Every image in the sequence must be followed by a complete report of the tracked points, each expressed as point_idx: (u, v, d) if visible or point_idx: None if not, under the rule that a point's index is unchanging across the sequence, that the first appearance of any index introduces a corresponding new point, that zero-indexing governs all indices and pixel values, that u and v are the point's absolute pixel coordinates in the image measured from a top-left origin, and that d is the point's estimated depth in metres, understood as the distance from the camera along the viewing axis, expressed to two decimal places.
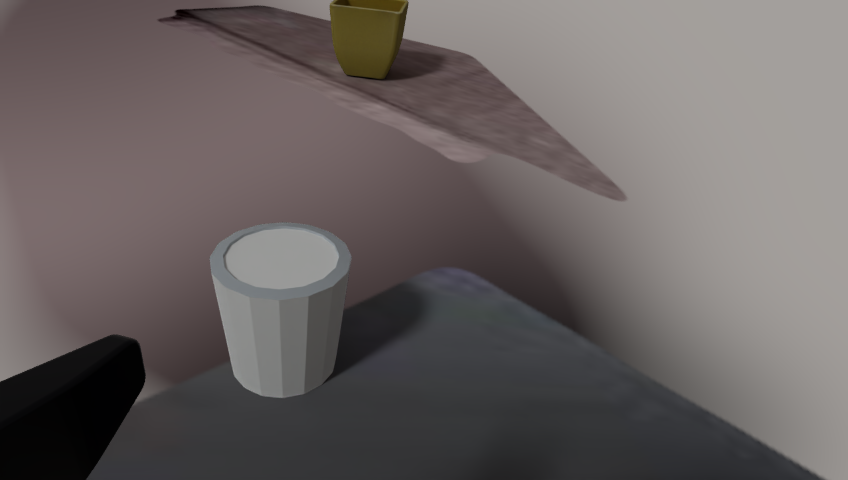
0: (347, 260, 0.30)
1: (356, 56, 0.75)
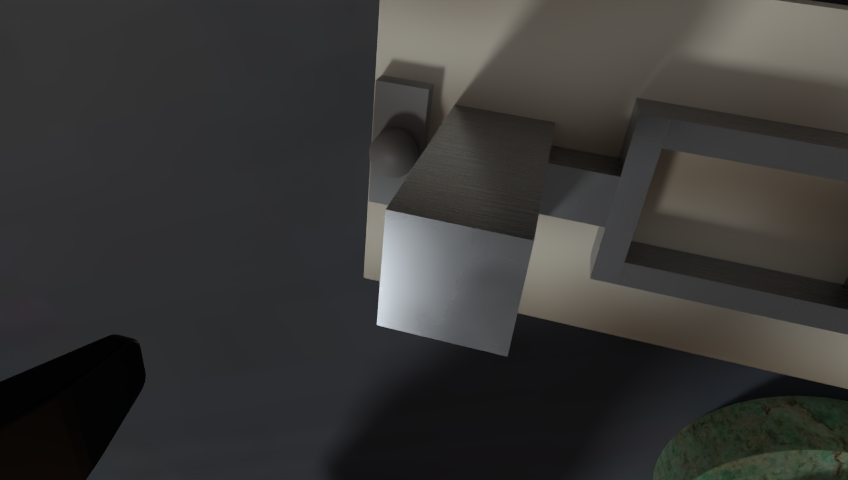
0: None
1: None
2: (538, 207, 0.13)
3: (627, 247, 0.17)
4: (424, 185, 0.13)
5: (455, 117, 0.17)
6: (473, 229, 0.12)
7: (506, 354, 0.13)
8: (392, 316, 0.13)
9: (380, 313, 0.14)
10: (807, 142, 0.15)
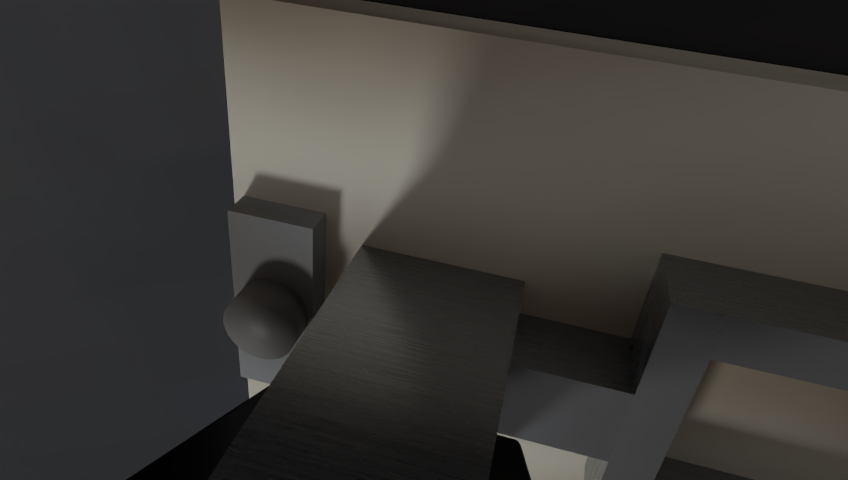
0: None
1: None
2: None
3: None
4: None
5: (354, 280, 0.10)
6: None
7: None
8: None
9: None
10: None
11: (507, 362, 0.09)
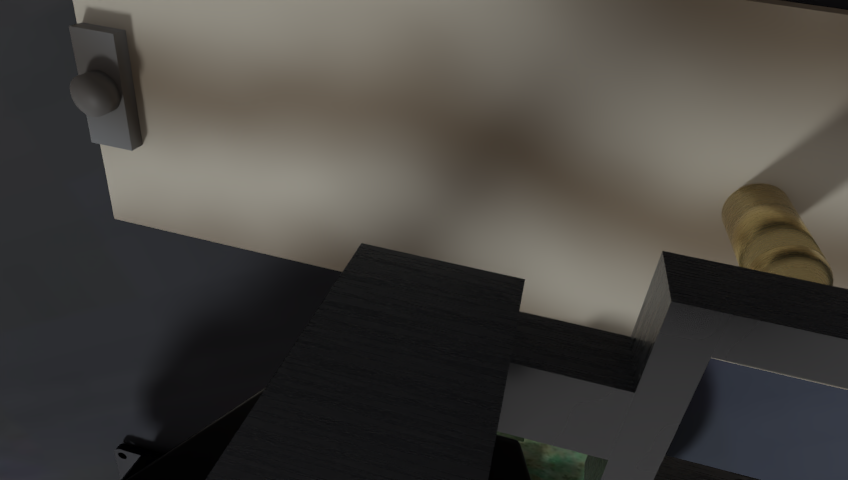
0: None
1: None
2: None
3: None
4: None
5: (354, 278, 0.10)
6: None
7: None
8: None
9: None
10: None
11: (507, 360, 0.09)
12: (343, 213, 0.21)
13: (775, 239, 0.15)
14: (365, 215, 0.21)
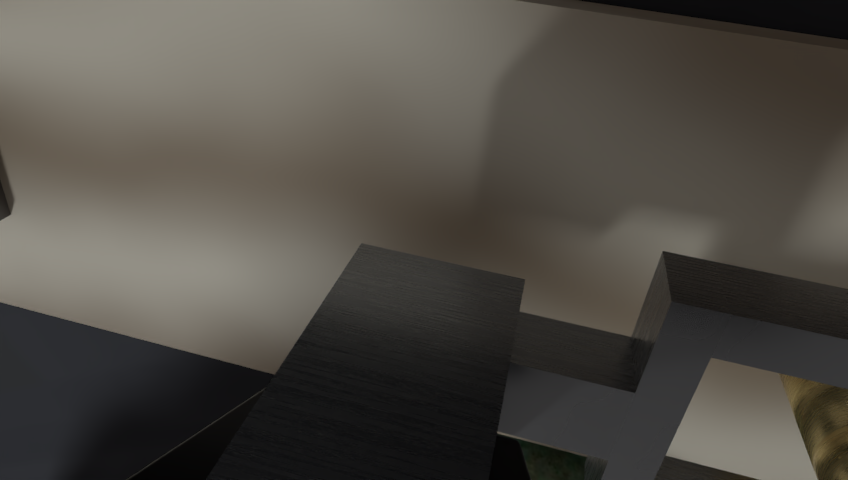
0: None
1: None
2: None
3: None
4: None
5: (354, 278, 0.10)
6: None
7: None
8: None
9: None
10: None
11: (507, 360, 0.09)
12: (265, 305, 0.16)
13: None
14: (293, 309, 0.16)
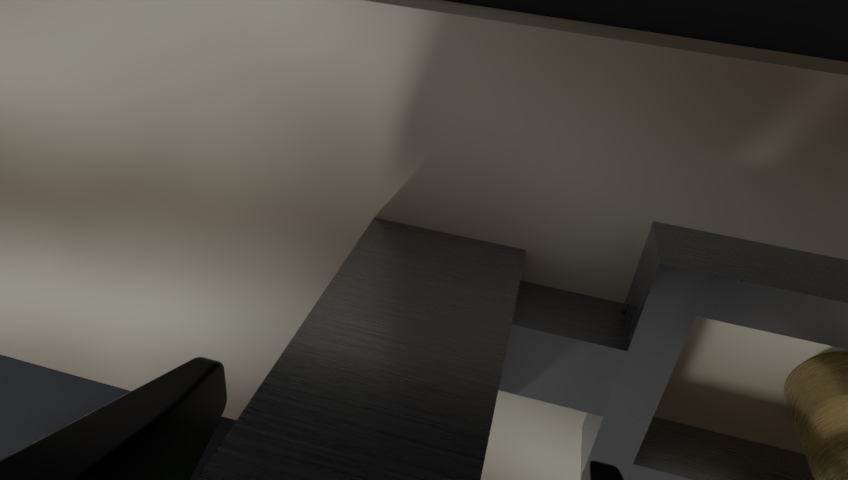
0: None
1: None
2: None
3: (637, 445, 0.11)
4: (261, 449, 0.07)
5: (368, 247, 0.11)
6: None
7: None
8: None
9: None
10: None
11: (510, 318, 0.10)
12: (229, 350, 0.15)
13: None
14: (259, 354, 0.15)
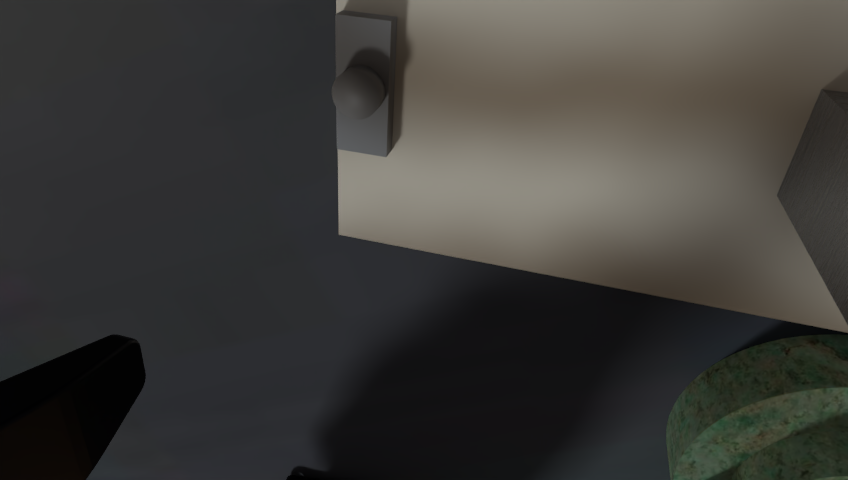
0: None
1: None
2: None
3: None
4: None
5: (846, 104, 0.14)
6: None
7: None
8: None
9: None
10: None
11: None
12: (635, 221, 0.18)
13: None
14: (663, 223, 0.18)
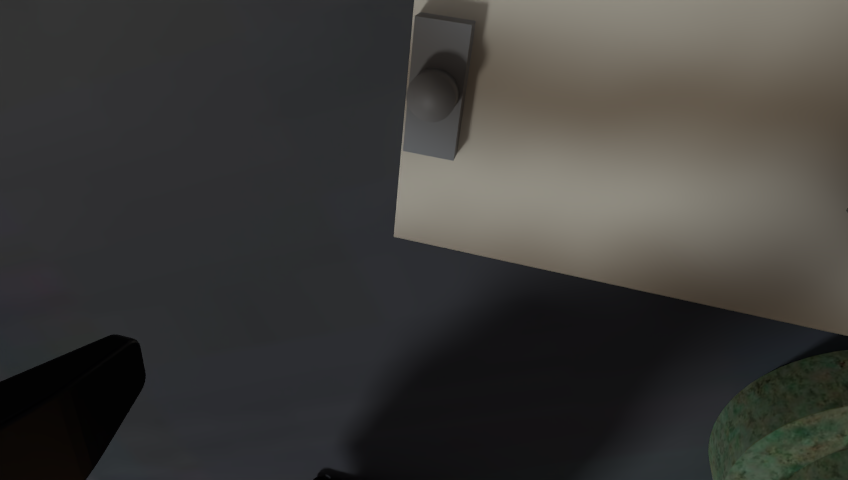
0: None
1: None
2: None
3: None
4: None
5: None
6: None
7: None
8: None
9: None
10: None
11: None
12: (699, 232, 0.18)
13: None
14: (728, 235, 0.18)
